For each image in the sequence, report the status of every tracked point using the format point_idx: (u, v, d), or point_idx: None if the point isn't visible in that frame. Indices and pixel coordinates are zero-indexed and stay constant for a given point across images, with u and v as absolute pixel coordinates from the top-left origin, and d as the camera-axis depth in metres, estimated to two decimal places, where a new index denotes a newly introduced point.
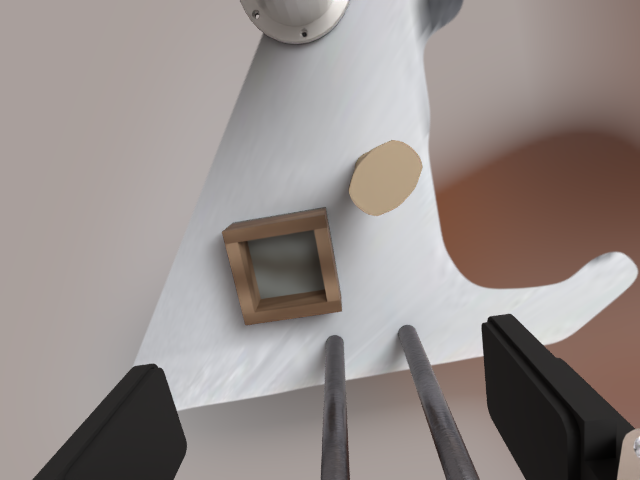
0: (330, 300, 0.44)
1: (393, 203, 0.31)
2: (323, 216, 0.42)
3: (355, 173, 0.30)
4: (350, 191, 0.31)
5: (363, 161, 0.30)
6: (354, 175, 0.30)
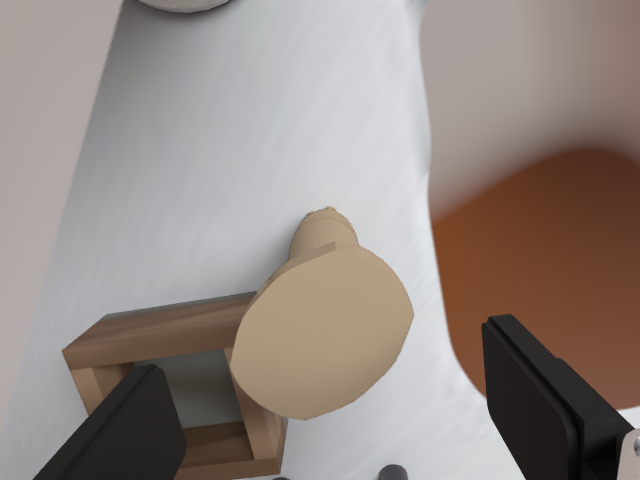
0: (259, 457, 0.26)
1: (341, 394, 0.12)
2: (238, 327, 0.23)
3: (242, 327, 0.12)
4: (234, 367, 0.12)
5: (261, 299, 0.12)
6: (240, 331, 0.12)
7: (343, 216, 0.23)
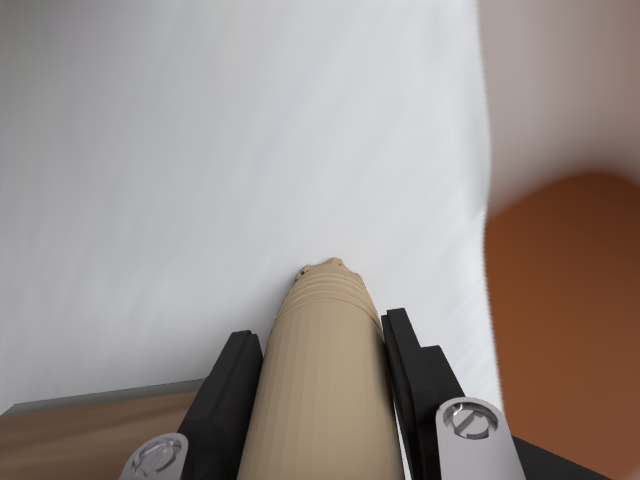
0: None
1: None
2: None
3: None
4: None
5: None
6: None
7: (357, 282, 0.14)
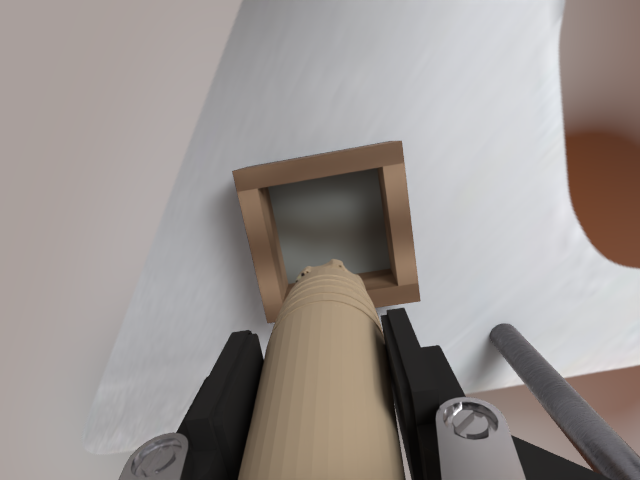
0: (403, 283, 0.28)
1: None
2: (399, 143, 0.25)
3: None
4: None
5: None
6: None
7: (357, 283, 0.14)
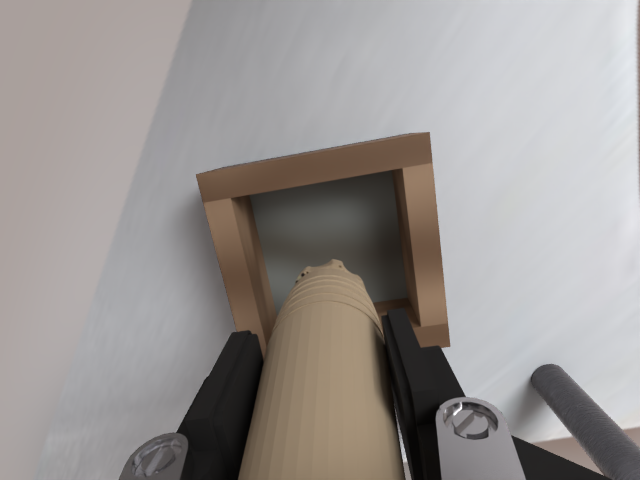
0: (427, 324, 0.21)
1: None
2: (426, 136, 0.18)
3: None
4: None
5: None
6: None
7: (357, 284, 0.14)
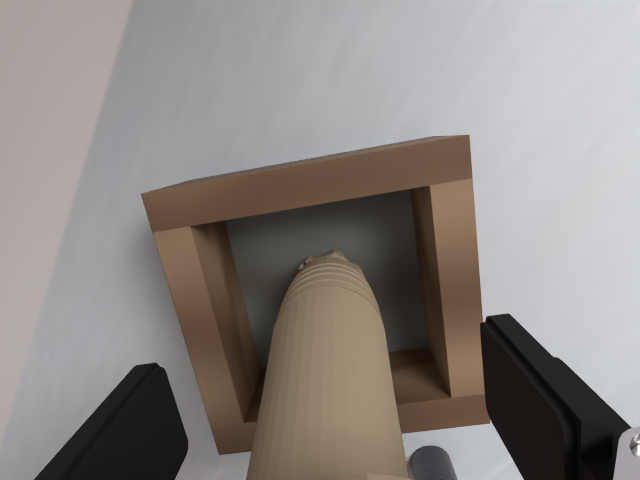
0: (460, 394, 0.15)
1: None
2: (464, 140, 0.13)
3: None
4: None
5: None
6: None
7: (356, 271, 0.15)
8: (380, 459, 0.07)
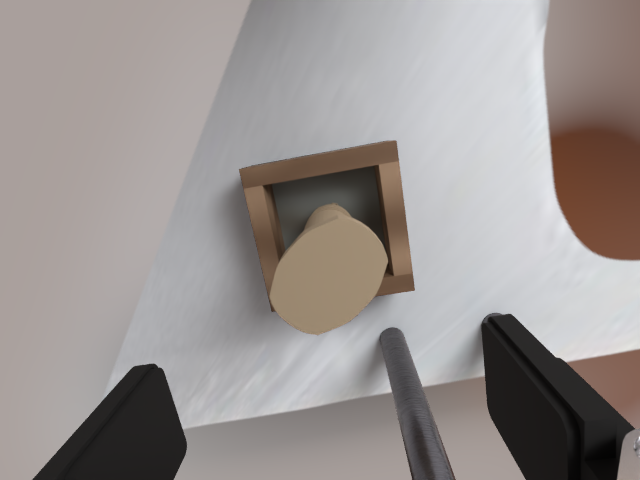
0: (398, 274, 0.30)
1: (341, 315, 0.19)
2: (394, 143, 0.27)
3: (278, 270, 0.18)
4: (272, 297, 0.19)
5: (290, 251, 0.18)
6: (277, 273, 0.19)
7: (344, 209, 0.30)
8: None
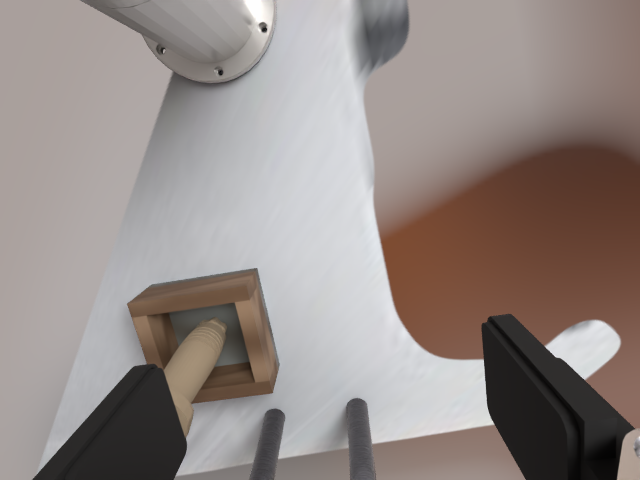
0: (258, 381, 0.38)
1: None
2: (245, 287, 0.35)
3: None
4: None
5: None
6: None
7: (214, 330, 0.37)
8: (176, 389, 0.29)
